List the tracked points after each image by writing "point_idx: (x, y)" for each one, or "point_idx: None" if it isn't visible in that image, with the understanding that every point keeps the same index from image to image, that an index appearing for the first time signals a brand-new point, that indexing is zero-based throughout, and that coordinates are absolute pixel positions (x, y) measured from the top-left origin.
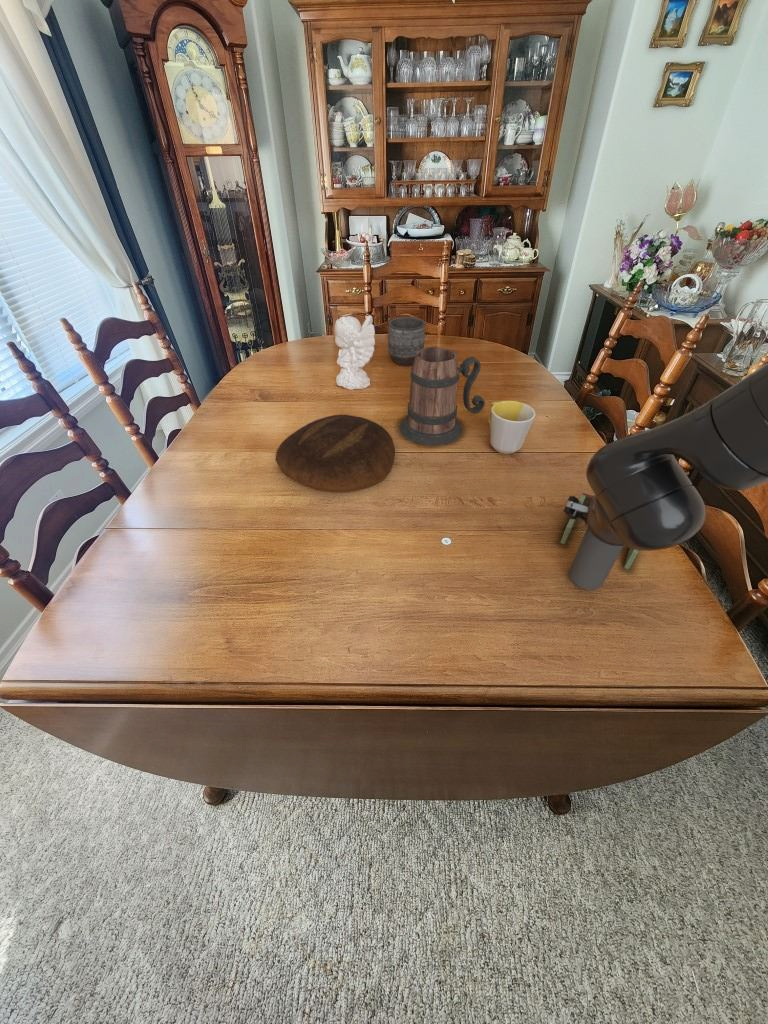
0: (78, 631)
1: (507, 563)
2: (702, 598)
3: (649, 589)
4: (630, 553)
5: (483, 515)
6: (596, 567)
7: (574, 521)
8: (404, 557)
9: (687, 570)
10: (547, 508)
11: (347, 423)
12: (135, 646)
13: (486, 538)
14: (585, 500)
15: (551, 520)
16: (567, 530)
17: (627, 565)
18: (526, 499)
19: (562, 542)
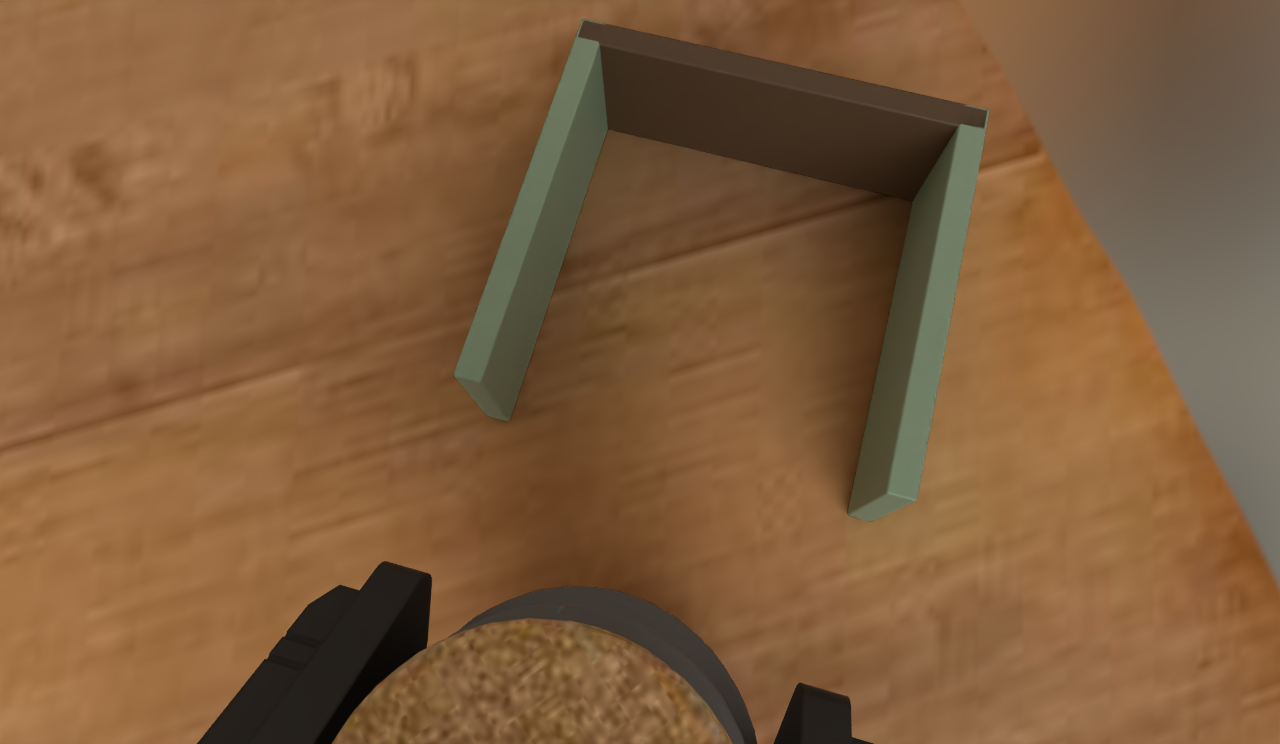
0: None
1: (154, 693)
2: (1276, 631)
3: (988, 652)
4: (877, 452)
5: (36, 311)
6: None
7: (548, 253)
8: None
9: (1193, 425)
10: (427, 146)
11: None
12: None
13: (38, 508)
14: (609, 69)
15: (445, 239)
16: (473, 388)
17: (864, 516)
18: (308, 105)
19: (494, 417)
